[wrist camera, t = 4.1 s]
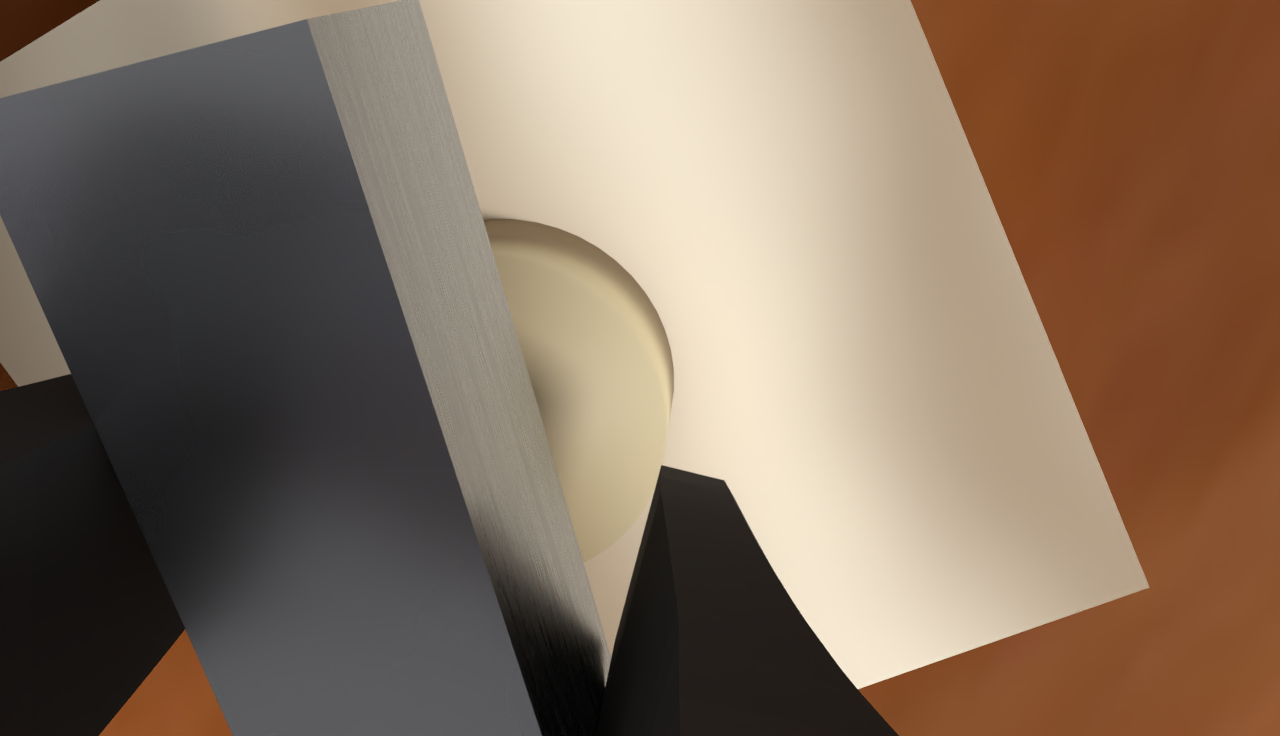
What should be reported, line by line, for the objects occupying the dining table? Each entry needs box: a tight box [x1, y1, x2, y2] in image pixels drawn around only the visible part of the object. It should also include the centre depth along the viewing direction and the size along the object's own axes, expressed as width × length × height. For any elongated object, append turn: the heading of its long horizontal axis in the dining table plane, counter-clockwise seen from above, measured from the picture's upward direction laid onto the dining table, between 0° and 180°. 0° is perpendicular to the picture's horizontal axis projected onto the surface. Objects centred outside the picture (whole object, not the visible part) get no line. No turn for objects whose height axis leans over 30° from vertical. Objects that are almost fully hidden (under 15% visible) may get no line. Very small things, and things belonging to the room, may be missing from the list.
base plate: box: [0, 0, 1149, 689], centre depth 14 cm, size 12×12×3 cm
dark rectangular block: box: [0, 0, 611, 736], centre depth 10 cm, size 2×9×4 cm, turn 13°
